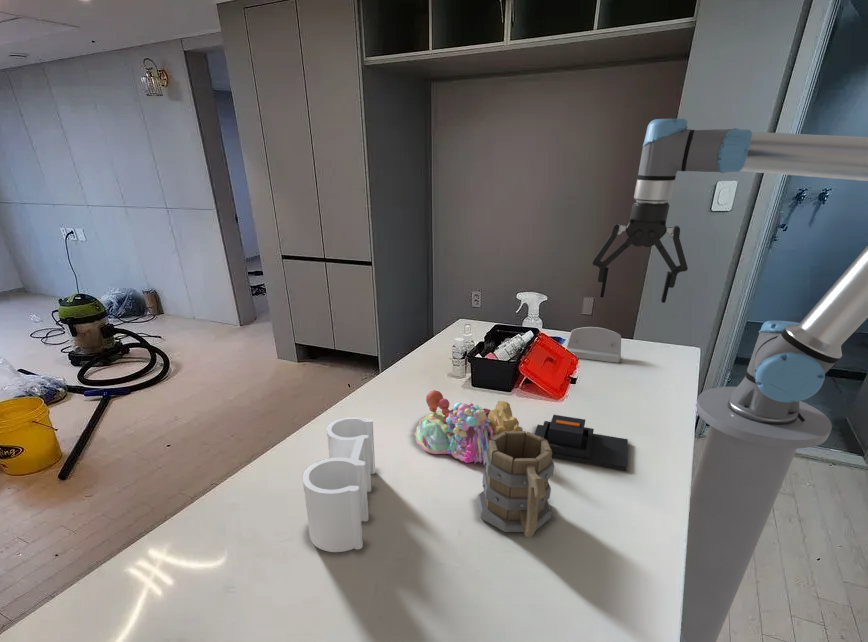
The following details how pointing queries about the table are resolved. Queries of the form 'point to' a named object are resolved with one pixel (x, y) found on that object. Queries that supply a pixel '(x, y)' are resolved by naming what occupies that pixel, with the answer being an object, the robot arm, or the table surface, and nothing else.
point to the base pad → (591, 449)
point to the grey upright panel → (595, 344)
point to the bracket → (341, 486)
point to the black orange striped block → (566, 431)
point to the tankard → (516, 482)
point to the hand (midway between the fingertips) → (632, 298)
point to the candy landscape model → (462, 428)
